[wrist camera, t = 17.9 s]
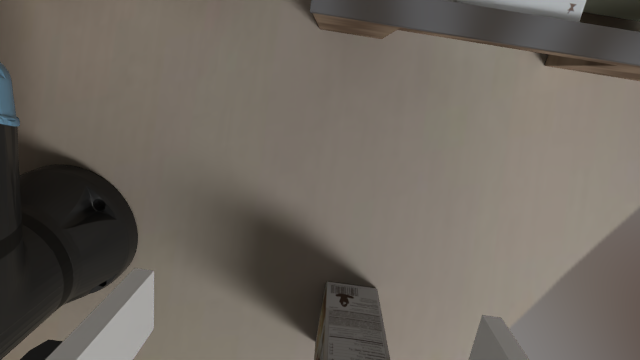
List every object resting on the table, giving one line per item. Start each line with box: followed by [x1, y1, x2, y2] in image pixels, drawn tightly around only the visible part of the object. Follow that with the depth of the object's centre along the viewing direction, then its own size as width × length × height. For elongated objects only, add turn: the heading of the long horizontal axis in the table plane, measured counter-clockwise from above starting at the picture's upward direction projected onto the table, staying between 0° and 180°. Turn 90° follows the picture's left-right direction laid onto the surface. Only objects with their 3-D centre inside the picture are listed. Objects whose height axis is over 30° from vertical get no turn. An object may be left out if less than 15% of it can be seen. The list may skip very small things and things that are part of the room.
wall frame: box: [310, 0, 640, 81], centre depth 30 cm, size 34×2×14 cm, turn 81°
